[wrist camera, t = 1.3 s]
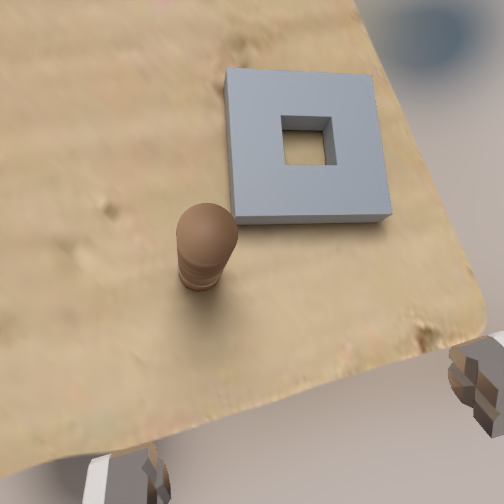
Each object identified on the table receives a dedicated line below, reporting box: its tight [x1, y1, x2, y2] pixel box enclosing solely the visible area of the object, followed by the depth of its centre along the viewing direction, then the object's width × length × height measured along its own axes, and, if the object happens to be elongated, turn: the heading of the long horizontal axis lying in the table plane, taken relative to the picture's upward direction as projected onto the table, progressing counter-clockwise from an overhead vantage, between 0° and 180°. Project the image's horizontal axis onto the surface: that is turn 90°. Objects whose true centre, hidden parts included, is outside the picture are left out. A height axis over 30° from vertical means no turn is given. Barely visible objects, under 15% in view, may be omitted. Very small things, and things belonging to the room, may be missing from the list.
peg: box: [176, 203, 238, 291], centre depth 29 cm, size 4×4×12 cm
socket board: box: [224, 68, 392, 225], centre depth 37 cm, size 14×14×2 cm
